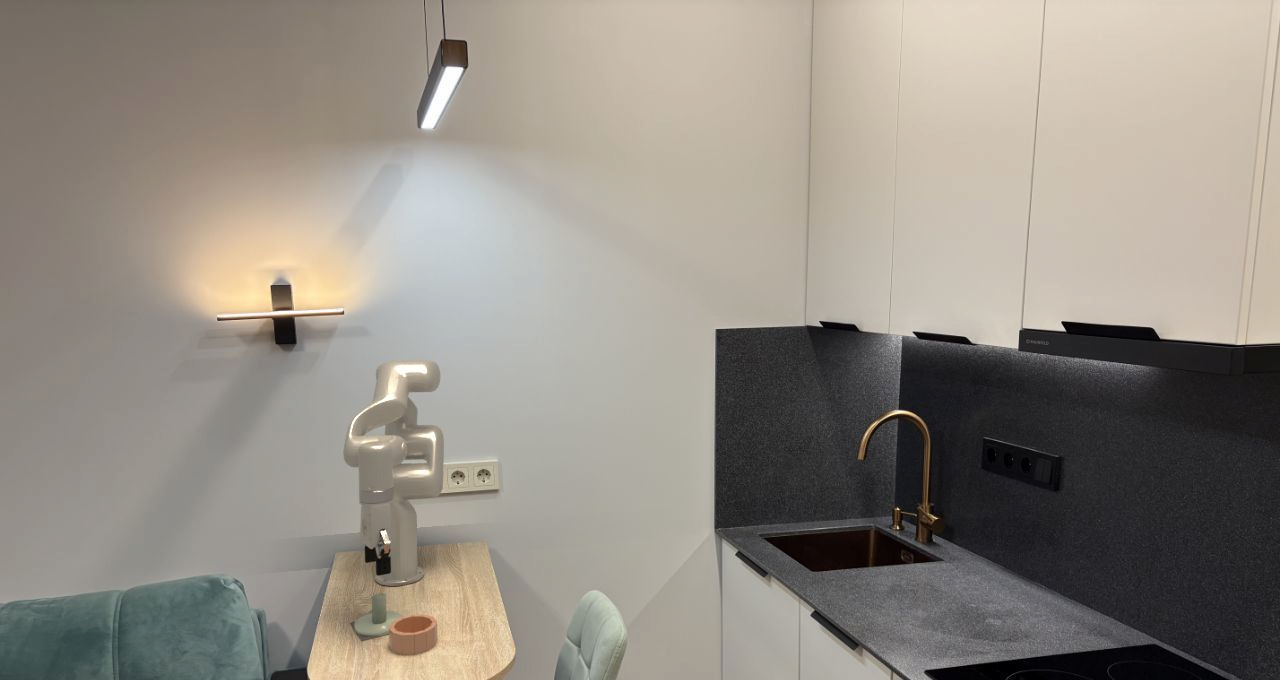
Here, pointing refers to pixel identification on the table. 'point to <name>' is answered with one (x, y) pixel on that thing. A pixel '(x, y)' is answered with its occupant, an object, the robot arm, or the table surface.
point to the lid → (376, 619)
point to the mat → (362, 638)
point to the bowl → (413, 634)
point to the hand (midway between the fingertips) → (377, 567)
